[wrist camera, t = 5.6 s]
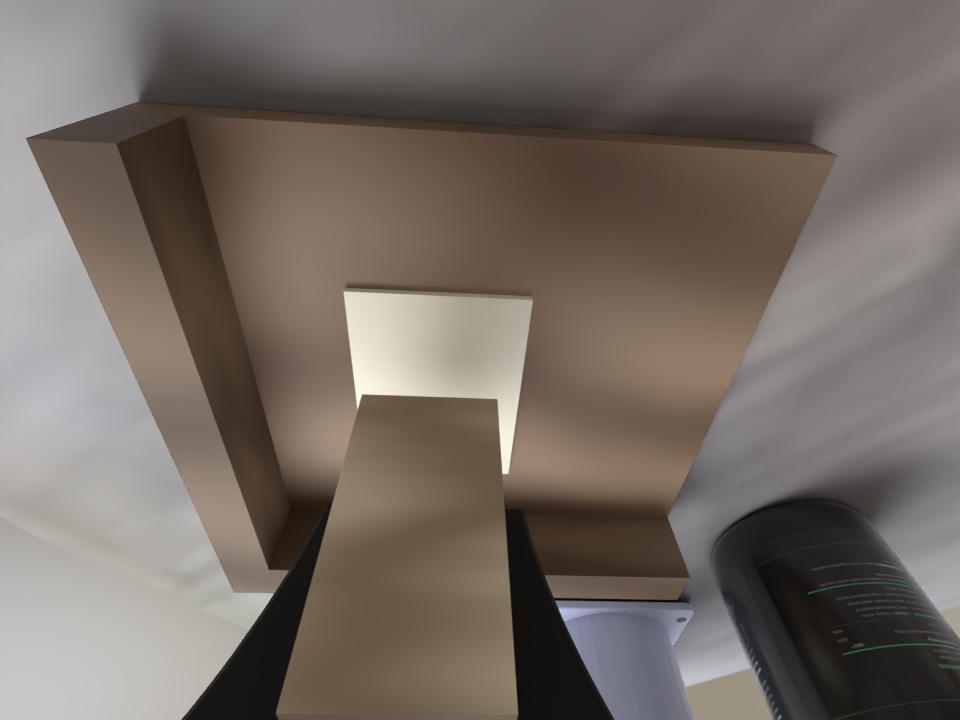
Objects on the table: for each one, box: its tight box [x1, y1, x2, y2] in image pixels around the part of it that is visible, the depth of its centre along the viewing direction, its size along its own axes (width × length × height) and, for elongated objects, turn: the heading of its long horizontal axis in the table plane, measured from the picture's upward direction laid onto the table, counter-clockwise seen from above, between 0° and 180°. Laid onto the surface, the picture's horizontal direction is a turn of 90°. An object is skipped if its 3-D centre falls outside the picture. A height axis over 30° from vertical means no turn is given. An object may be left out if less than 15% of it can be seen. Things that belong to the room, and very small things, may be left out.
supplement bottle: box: [711, 501, 960, 720], centre depth 17 cm, size 7×7×12 cm
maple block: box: [276, 394, 518, 720], centre depth 10 cm, size 3×5×6 cm, turn 177°
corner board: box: [26, 102, 837, 600], centre depth 15 cm, size 15×16×4 cm
